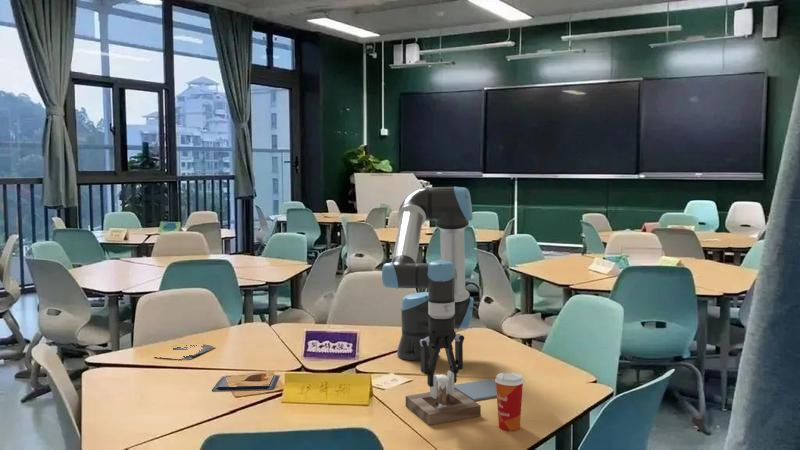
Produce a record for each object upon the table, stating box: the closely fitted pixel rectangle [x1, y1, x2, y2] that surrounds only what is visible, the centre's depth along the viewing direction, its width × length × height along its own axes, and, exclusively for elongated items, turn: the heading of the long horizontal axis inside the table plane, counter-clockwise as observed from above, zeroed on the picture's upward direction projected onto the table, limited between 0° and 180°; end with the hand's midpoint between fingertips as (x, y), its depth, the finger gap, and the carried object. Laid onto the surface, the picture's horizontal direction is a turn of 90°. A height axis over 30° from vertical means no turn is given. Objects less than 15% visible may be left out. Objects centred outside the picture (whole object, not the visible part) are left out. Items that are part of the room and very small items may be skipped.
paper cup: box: [494, 371, 525, 432], centre depth 171 cm, size 8×8×14 cm
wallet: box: [211, 374, 281, 393], centre depth 210 cm, size 20×2×15 cm
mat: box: [454, 378, 497, 402], centre depth 200 cm, size 14×14×1 cm
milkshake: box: [434, 373, 452, 408], centre depth 183 cm, size 4×5×10 cm
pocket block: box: [405, 389, 482, 426], centre depth 183 cm, size 16×16×3 cm
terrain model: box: [173, 344, 217, 361], centre depth 248 cm, size 20×15×3 cm
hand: (442, 395), depth 183 cm, fingers closed on milkshake, 5 cm apart
